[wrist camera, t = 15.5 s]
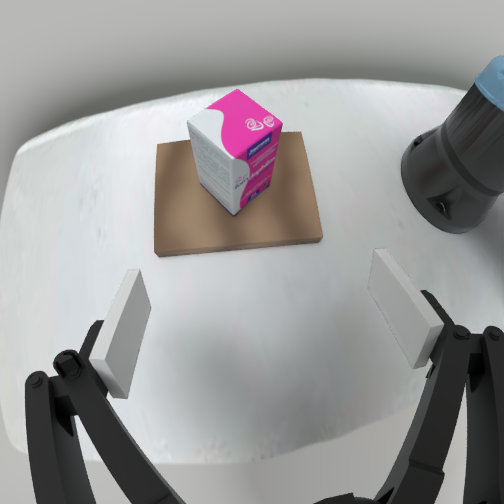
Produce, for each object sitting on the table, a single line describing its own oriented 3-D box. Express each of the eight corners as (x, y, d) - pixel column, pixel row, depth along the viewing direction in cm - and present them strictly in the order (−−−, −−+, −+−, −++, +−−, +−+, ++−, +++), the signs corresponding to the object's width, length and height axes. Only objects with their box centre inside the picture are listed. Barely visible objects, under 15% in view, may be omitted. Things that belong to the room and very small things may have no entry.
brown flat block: (298, 140, 38) (301, 131, 36) (318, 242, 35) (322, 236, 33) (160, 152, 37) (157, 144, 36) (159, 257, 34) (154, 252, 32)
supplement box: (234, 219, 33) (230, 160, 22) (199, 184, 34) (181, 119, 23) (273, 186, 34) (284, 120, 23) (237, 154, 35) (234, 84, 24)
